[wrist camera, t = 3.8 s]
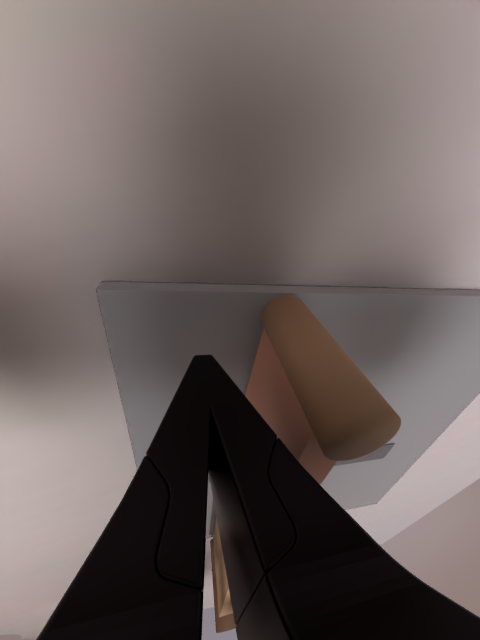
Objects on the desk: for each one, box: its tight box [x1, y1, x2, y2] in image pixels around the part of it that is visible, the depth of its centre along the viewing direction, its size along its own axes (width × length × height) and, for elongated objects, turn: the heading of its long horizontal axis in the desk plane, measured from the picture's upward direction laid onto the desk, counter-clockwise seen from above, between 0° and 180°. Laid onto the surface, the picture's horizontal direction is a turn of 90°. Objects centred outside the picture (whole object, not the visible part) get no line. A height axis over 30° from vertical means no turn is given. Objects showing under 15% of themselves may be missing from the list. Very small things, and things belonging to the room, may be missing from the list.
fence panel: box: [245, 295, 401, 485], centre depth 9 cm, size 13×2×4 cm, turn 170°
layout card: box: [96, 281, 480, 538], centre depth 15 cm, size 22×20×1 cm
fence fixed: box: [210, 518, 237, 633], centre depth 15 cm, size 10×2×4 cm, turn 174°
